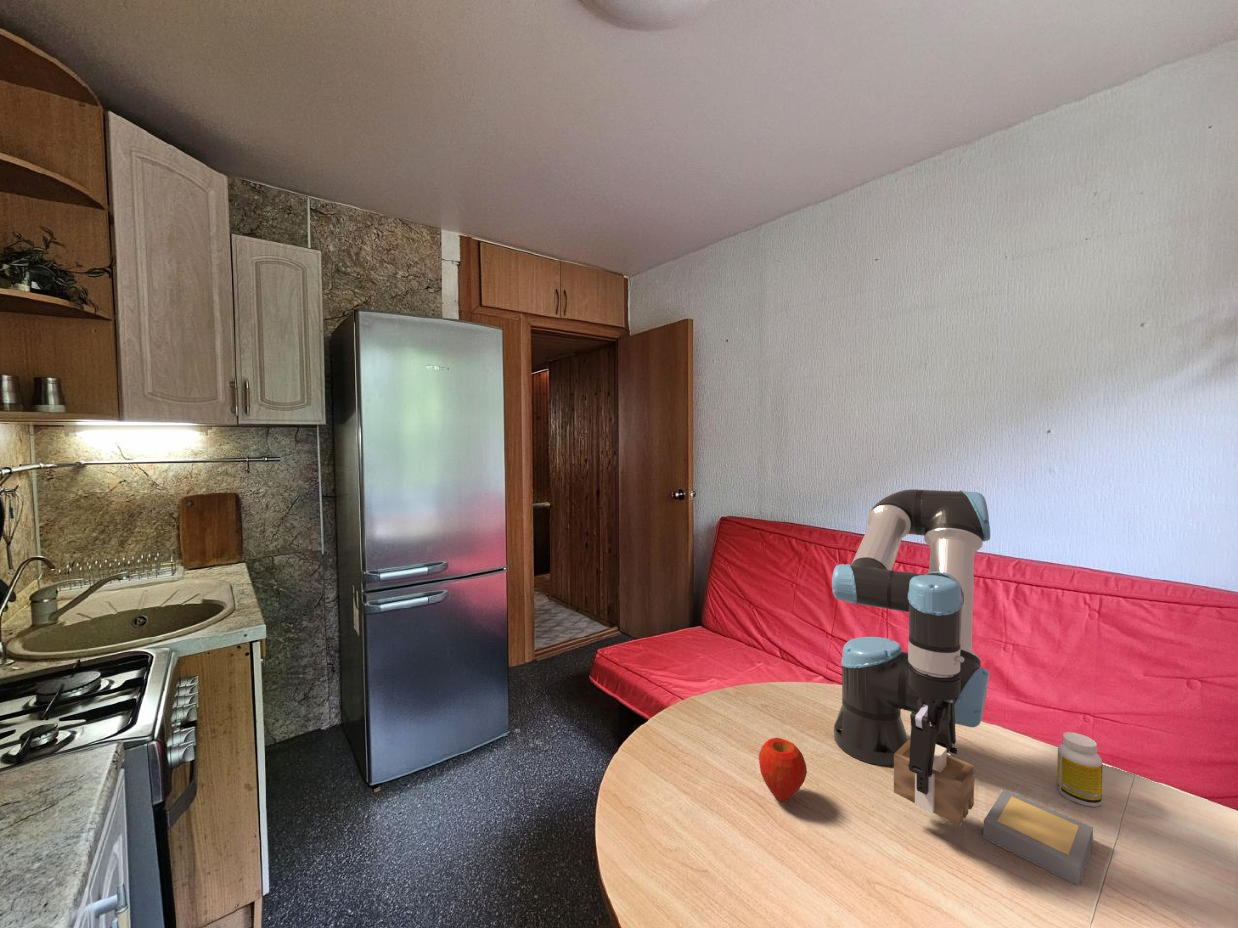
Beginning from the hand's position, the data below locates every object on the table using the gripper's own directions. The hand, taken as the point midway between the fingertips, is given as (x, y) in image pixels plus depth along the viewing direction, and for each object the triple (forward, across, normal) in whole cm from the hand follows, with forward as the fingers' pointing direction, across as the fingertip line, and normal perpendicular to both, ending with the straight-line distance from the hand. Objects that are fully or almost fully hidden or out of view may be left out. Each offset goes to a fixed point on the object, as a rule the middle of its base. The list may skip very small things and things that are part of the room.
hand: (933, 796), depth 85 cm
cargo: (-6, 0, 0) cm, 6 cm away
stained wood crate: (0, 0, 0) cm, 0 cm away
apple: (+6, -13, +21) cm, 26 cm away
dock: (+6, +10, -12) cm, 17 cm away
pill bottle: (+7, +30, -15) cm, 34 cm away
